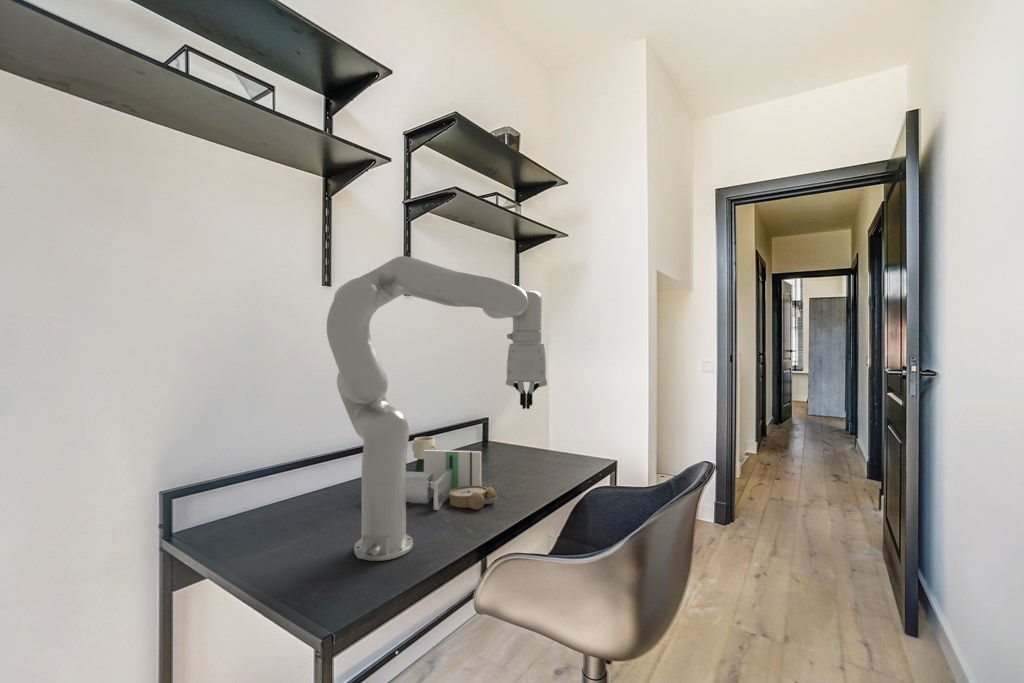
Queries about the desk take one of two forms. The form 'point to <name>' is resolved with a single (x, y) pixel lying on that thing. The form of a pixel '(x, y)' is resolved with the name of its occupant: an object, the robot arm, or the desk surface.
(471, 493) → the alarm clock
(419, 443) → the character mug
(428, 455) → the board
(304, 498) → the desk surface
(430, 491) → the block
